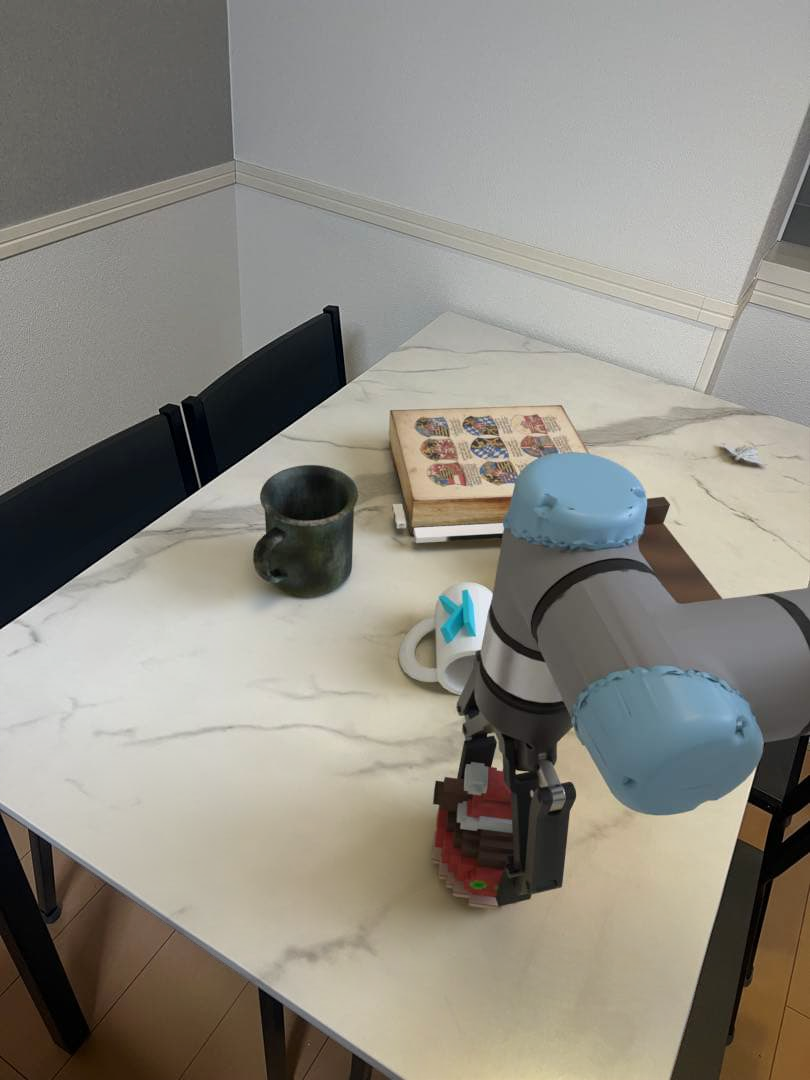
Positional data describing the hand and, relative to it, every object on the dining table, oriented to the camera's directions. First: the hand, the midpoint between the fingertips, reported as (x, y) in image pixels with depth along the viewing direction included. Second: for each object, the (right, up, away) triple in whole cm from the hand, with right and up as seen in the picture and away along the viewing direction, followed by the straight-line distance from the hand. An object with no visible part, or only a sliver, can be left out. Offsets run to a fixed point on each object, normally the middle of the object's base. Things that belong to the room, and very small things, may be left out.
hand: (490, 838), depth 68 cm
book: (+4, +32, +45) cm, 55 cm away
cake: (0, -3, +3) cm, 4 cm away
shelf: (+18, +17, +28) cm, 37 cm away
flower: (+46, +38, +57) cm, 83 cm away
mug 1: (-20, +21, +29) cm, 41 cm away
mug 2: (-3, +13, +21) cm, 25 cm away
